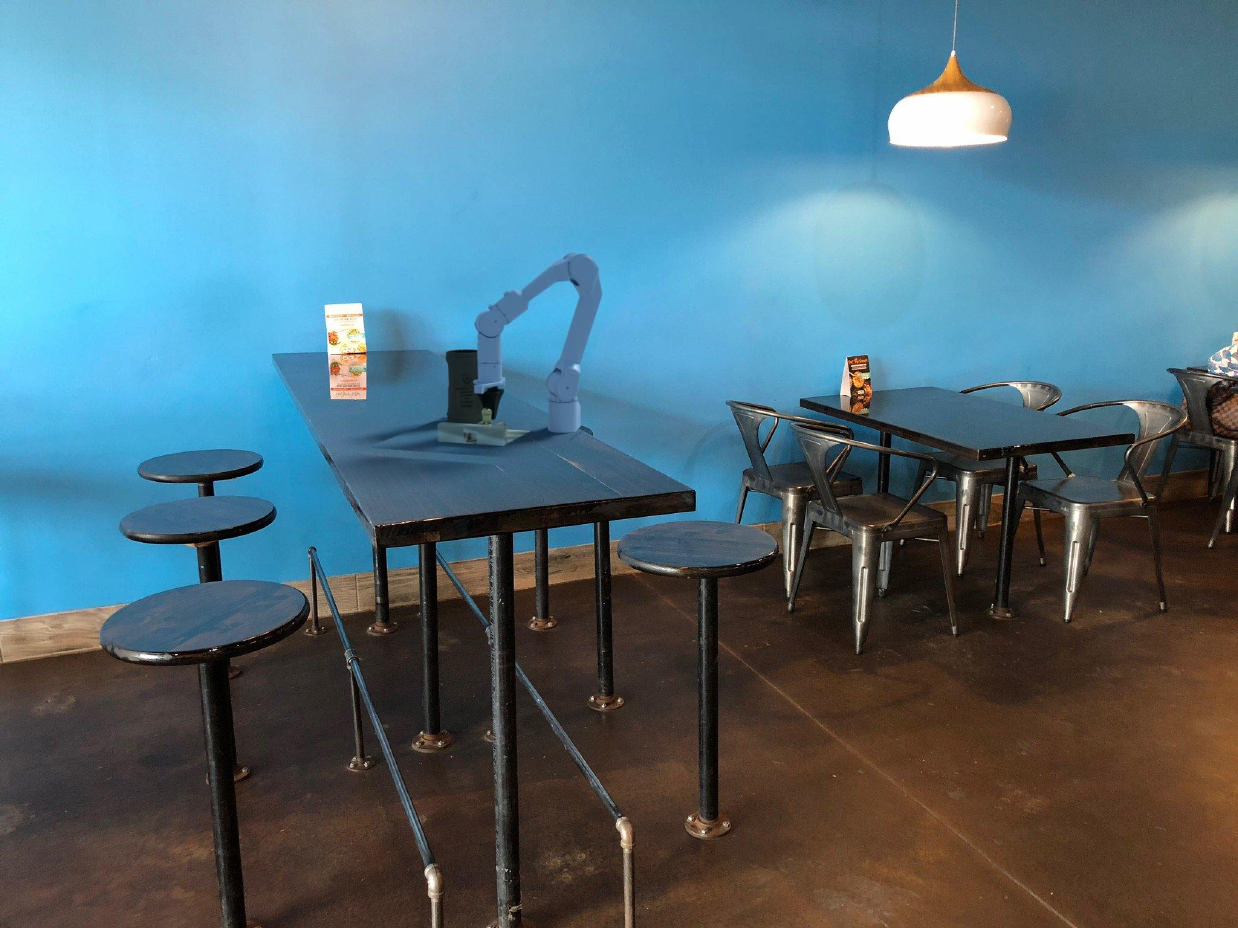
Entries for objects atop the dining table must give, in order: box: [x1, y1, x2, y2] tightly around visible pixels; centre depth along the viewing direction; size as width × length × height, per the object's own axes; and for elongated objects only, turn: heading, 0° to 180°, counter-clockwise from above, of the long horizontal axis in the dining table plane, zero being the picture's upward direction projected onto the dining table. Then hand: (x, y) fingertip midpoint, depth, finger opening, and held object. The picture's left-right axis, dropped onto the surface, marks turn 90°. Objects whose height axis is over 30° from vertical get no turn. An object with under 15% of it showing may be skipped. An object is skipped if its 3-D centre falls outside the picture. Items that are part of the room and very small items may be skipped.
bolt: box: [471, 407, 492, 440], centre depth 222 cm, size 8×2×6 cm, turn 165°
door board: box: [436, 421, 531, 447], centre depth 224 cm, size 18×16×6 cm
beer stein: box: [445, 348, 483, 424], centre depth 243 cm, size 15×11×20 cm
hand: (490, 419), depth 227 cm, fingers closed
